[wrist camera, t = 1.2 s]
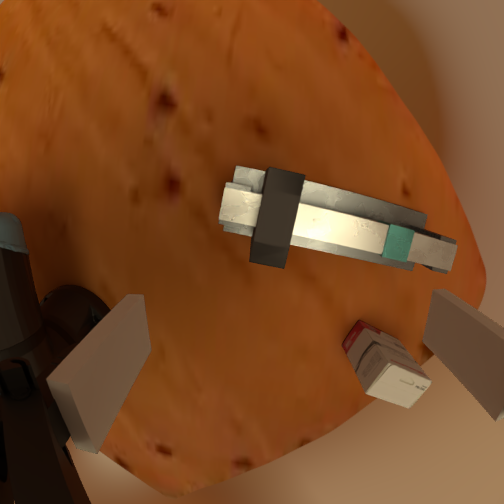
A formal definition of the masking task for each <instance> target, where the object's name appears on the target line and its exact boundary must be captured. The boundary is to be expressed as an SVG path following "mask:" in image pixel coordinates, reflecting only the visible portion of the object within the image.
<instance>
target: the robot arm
mask: <svg viewBox="0 0 504 504" xmlns="http://www.w3.org/2000/svg"><path fill="white" fill-rule="evenodd" d="M28 255H29V250H28V249H27V247H26V243H25V238H24V234H23V228H22V224H21V222H20V220H19V219H18V218H17V216H15V215H14V214H11V213H7V212H0V504H14V501H15V504H91V502H90V500H89V498H88V496H87V494H86V491H85V489H84V487H83V485H82V482H81V480H80V478H79V475H78V473H77V470H76V468H75V466H74V463H73V460H72V458H71V455H70V452H69V450H68V448H67V446H66V442H67V441H68V439H69V437H70V436H71V438H72V440H73V442H74V444H75V446H76V448H78V449H81V450H84V451H88V452H92V453H96V454H98V452H99V450H100V448H101V446H102V444H103V442H104V440H105V438H106V436H107V434H108V432H109V430H110V428H111V426H112V424H113V422H114V420H115V418H116V416H117V414H118V412H119V410H120V408H121V406H122V404H123V402H124V401H125V399H126V397H127V395H128V393H129V391H130V389H131V387H132V385H133V383H134V382H135V380H136V378H137V376H138V374H139V372H140V370H141V368H142V367H143V365H144V363H145V361H146V359H147V357H148V356H149V354H150V352H151V344H150V338H149V331H148V324H147V317H146V309H145V301H144V295H141V294H127V295H126V296H125V297H124V298H123V299H122V300H121V301H120V302H119V303H118V304H117V305H116V306H115V307H114V308H113V309H112V310H111V311H110V310H109V308H108V307H107V306H106V305H105V304H104V303H103V301H102V300H100V299H99V298H98V297H97V296H96V295H95V294H93V293H92V292H90V291H88V290H86V289H84V288H82V287H79V286H74V285H64V286H60V287H58V288H56V289H55V290H53V291H51V292H50V293H48V294H47V295H46V296H45V297H44V298H43V300H42V301H41V303H40V305H39V301H38V298H37V294H36V290H35V286H34V281H33V277H32V272H31V267H30V261H29V256H28ZM422 342H423V343H424V344H425V345H426V346H427V347H428V348H429V349H430V350H431V351H432V352H433V353H434V354H435V355H436V356H437V357H438V358H439V359H440V360H441V361H442V363H443V364H445V366H446V367H447V368H448V369H449V370H450V371H451V372H452V373H453V374H454V375H455V376H456V377H457V379H458V380H459V381H460V382H461V383H462V384H463V385H464V386H465V387H466V388H467V390H468V391H469V392H470V393H471V394H472V395H473V396H474V397H475V398H476V400H477V401H478V402H479V403H480V404H481V405H482V407H483V408H484V409H485V410H486V411H487V412H488V413H489V415H490V416H491V417H492V418H493V419H494V420H495V421H498V420H500V419H502V418H504V328H503V327H502V326H500V325H499V324H497V323H496V322H494V321H493V320H492V319H490V318H488V317H487V316H485V315H484V314H483V313H481V312H480V311H478V310H477V309H475V308H474V307H472V306H471V305H469V304H468V303H466V302H464V301H463V300H461V299H460V298H458V297H457V296H455V295H454V294H452V293H451V292H449V291H447V290H446V289H437V290H433V292H432V298H431V303H430V308H429V313H428V318H427V323H426V327H425V332H424V336H423V340H422Z"/></svg>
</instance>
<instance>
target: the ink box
mask: <svg viewBox="0 0 504 504" xmlns="http://www.w3.org/2000/svg"><path fill="white" fill-rule="evenodd" d="M342 347H343V348H344V350H345V352H346V354H347V356H348V358H349V360H350V362H351V364H352V366H353V368H354V370H355V372H356V375H357V376H358V379H359V381H360V383H361V385H362V387H363V389H364V391H365V393H366V394H368V395H371V396H374V397H377V398H379V399H383V400H385V401H389V402H391V403H394V404H397V405H401V406H403V407H406V408H410V407H412V406H413V404H414V403H415V402H416V401H417V400H418V399H419V398H420V397H421V395H422V394H423V393H424V392H425V391H426V389H427V388H428V387H429V386H430V384H431V383H432V381H431V380H430V378H429V377H428V376H427V375H426V374H425V373H424V371H423V370H422V368H421V367H420V366H419V365H418V364H417V362H416V361H415V360H414V359H413V357H412V356H411V355H410V354H409V352H408V351H407V350H406V349H405V347H404V346H403V345H402V344H401V342H400V341H399V340H398V339H396V338H394V337H392V336H390V335H388V334H386V333H384V332H382V331H380V330H378V329H376V328H374V327H372V326H370V325H368V324H366V323H365V322H363V321H361V320H359V321H358V322H357V323H356V325H355V326H354V328H353V329H352V330H351V332H350V333H349V335H348V336H347V338H346V339H345V341H344V343H343V344H342Z"/></svg>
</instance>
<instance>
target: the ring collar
mask: <svg viewBox="0 0 504 504" xmlns="http://www.w3.org/2000/svg"><path fill="white" fill-rule="evenodd" d="M304 180H305V175H303V174H299V173H295V172H290V171H286V170H281V169H277V168H272V167H269V168H268V169H267V170H266V172H265V176H264V181H263V186H262V191H261V194H263V195H262V199H261V204H260V209H259V213H258V218H257V223H256V227H255V226H254V229H253V233H252V238H251V248H250V259H249V262H253V263H258V264H263V265H268V266H273V267H278V268H283V269H284V268H285V263H286V259H287V255H288V251H289V247H290V242H291V238H292V234H293V229H294V225H295V221H296V216H297V212H298V207H299V203H300V198H301V194H302V189H303V185H304Z"/></svg>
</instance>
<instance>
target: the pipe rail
mask: <svg viewBox="0 0 504 504" xmlns="http://www.w3.org/2000/svg"><path fill="white" fill-rule="evenodd" d="M264 176H265V171H261V170H256V169H251V168H246V167H241V166H236V169H235V174H234V179H233V182H226V187H225V189H224V194H223V199H222V204H221V209H220V215H219V222H218V224H223V225H224V229H223V231H227V232H232V233H237V234H242V235H247V236H252V233H253V229H254V226H255V227H256V223H257V218H258V213H259V209H260V204H261V199H262V195H263V194H261V191H262V186H263V181H264ZM426 219H427V214H424V213H421V212H417V211H414V210H411V209H408V208H405V207H401V206H398V205H395V204H392V203H388V202H385V201H381V200H378V199H374V198H371V197H367V196H364V195H360V194H357V193H353V192H349V191H345V190H342V189H338V188H334V187H330V186H326V185H322V184H318V183H314V182H310V181H306V180H304V185H303V189H302V194H301V198H300V203H299V207H298V212H297V216H296V221H295V225H294V229H293V234H292V238H291V242H290V245H295V246H300V247H305V248H309V249H314V250H319V251H323V252H328V253H333V254H337V255H342V256H347V257H351V258H356V259H360V260H365V261H369V262H374V263H378V264H383V265H387V266H392V267H396V268H401V269H405V270H410V271H412V270H413V267H414V264H415V262H416V263H420V264H422V265H423V266H425V267H427V268H429V269H430V270H432V271H437V272H441V273H445V274H447V272H448V271H451V267H452V264H453V261H454V257H455V254H456V250H457V245H455V244H456V240H454V239H451V238H448V237H446V236H443V235H440V234H437V233H434V232H431V231H428V230H426V229H424V227H425V223H426Z"/></svg>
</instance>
